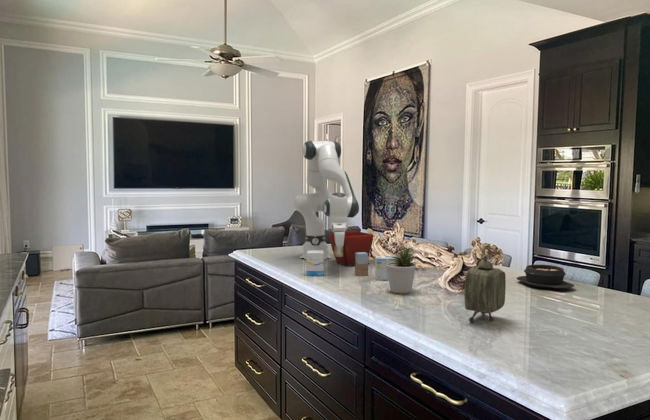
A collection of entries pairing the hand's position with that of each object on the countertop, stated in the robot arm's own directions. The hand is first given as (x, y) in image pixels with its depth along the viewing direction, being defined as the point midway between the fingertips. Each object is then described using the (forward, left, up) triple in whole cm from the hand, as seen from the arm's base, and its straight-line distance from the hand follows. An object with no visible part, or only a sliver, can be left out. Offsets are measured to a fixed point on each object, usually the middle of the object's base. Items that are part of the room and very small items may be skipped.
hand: (338, 252), depth 241 cm
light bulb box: (+14, +22, -11) cm, 28 cm away
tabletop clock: (+80, +46, -11) cm, 93 cm away
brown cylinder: (0, 0, -2) cm, 2 cm away
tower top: (+4, +11, -5) cm, 13 cm away
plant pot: (-27, +8, -11) cm, 31 cm away
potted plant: (+39, +25, -11) cm, 47 cm away
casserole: (+31, +90, -11) cm, 96 cm away
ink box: (+1, -12, -11) cm, 16 cm away
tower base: (+3, +11, -11) cm, 16 cm away
